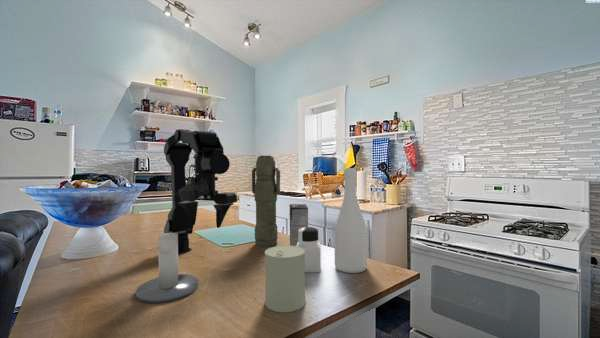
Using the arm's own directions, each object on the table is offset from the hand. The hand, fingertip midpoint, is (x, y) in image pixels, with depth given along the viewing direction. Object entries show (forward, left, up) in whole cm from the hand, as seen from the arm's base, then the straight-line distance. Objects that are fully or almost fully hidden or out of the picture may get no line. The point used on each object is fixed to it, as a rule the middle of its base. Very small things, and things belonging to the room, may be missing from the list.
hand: (205, 226), depth 83 cm
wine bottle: (+40, +16, -13) cm, 45 cm away
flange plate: (0, -14, -13) cm, 19 cm away
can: (+30, -10, -13) cm, 34 cm away
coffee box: (+18, +30, -13) cm, 37 cm away
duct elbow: (+1, -15, -12) cm, 19 cm away
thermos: (+4, +31, -13) cm, 34 cm away
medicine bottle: (+28, +12, -13) cm, 33 cm away
